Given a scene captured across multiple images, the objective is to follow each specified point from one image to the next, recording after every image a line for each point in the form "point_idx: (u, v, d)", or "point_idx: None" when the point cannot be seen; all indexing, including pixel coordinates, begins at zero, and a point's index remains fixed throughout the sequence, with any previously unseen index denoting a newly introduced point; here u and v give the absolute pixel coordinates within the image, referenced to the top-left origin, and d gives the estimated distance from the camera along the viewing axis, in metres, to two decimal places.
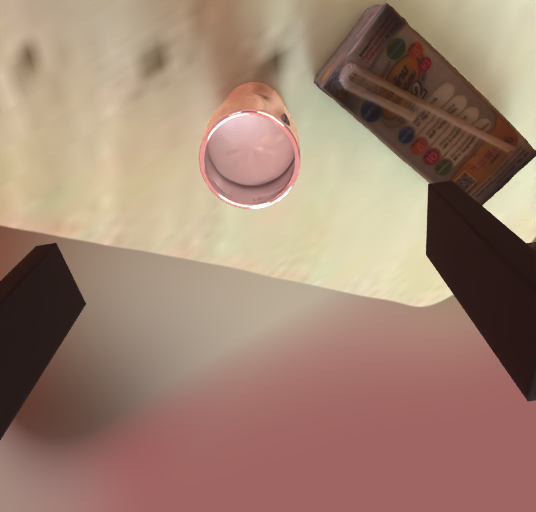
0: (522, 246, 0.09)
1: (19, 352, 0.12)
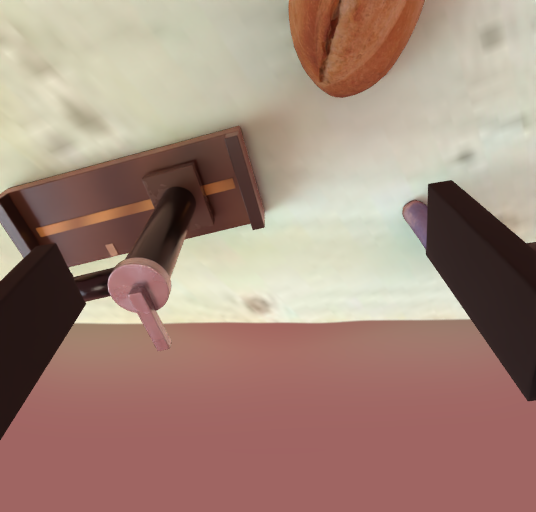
0: (522, 246, 0.09)
1: (19, 353, 0.12)
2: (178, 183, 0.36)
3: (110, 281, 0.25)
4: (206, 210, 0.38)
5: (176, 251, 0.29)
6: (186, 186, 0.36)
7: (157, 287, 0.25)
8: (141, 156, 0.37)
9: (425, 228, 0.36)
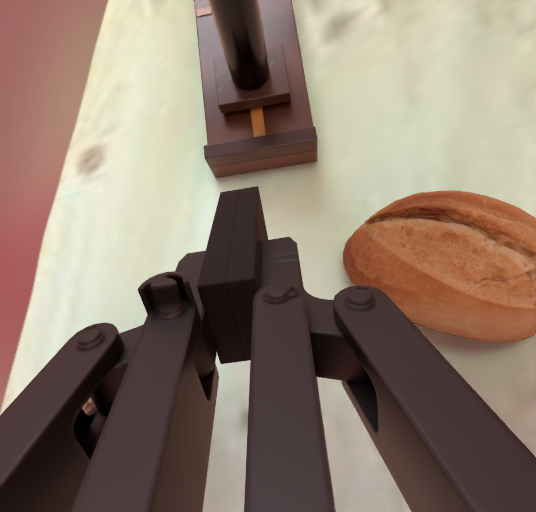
0: (251, 240, 0.12)
1: None
2: (272, 77, 0.33)
3: None
4: (236, 100, 0.33)
5: None
6: (267, 84, 0.33)
7: None
8: (300, 57, 0.36)
9: None
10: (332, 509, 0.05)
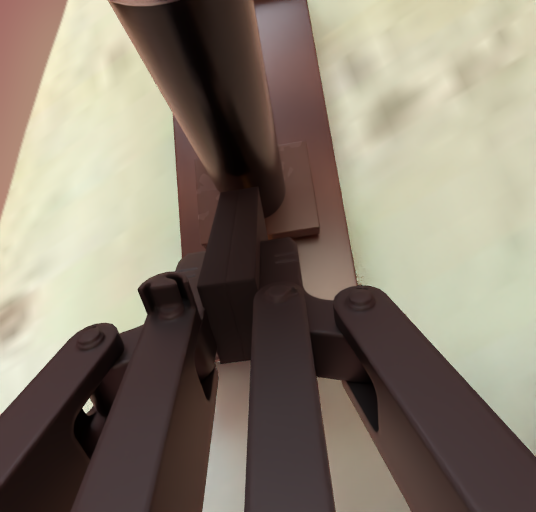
0: (251, 240, 0.12)
1: None
2: (289, 197, 0.20)
3: None
4: None
5: (204, 108, 0.11)
6: (282, 210, 0.20)
7: None
8: (336, 172, 0.22)
9: None
10: (332, 509, 0.05)
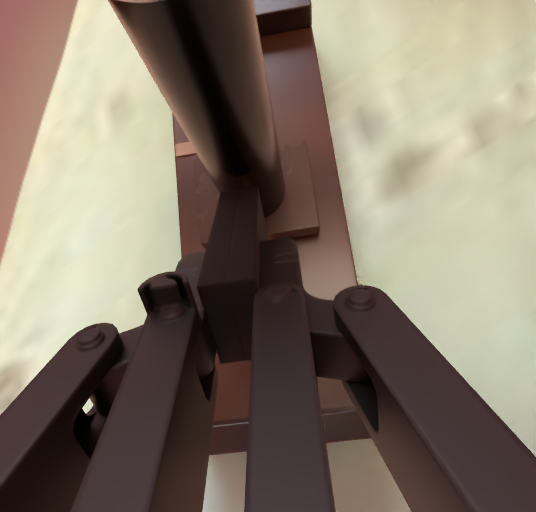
0: (251, 240, 0.12)
1: None
2: (289, 197, 0.20)
3: None
4: None
5: (203, 106, 0.11)
6: (282, 209, 0.20)
7: None
8: None
9: None
10: (332, 509, 0.05)
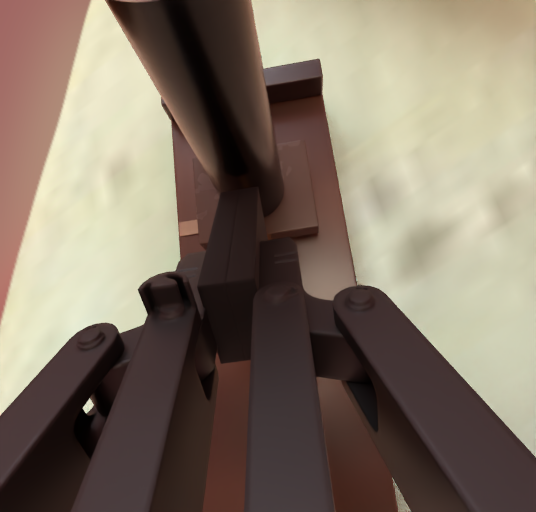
0: (250, 240, 0.12)
1: None
2: (288, 197, 0.20)
3: None
4: None
5: (201, 106, 0.11)
6: (281, 209, 0.20)
7: None
8: None
9: None
10: (332, 509, 0.05)
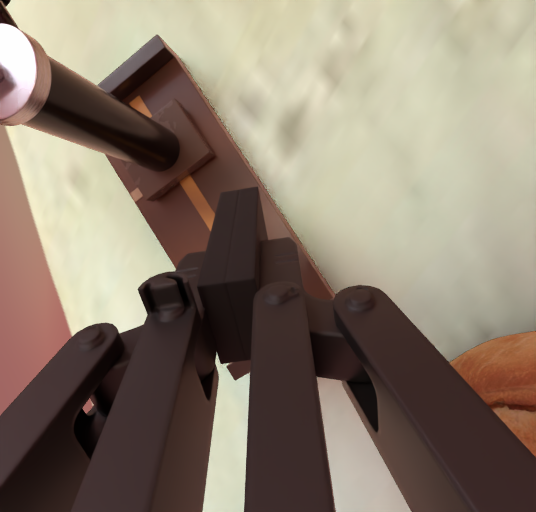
0: (251, 240, 0.12)
1: None
2: (183, 142, 0.29)
3: None
4: (160, 185, 0.30)
5: (84, 135, 0.20)
6: (182, 152, 0.29)
7: (8, 98, 0.16)
8: (272, 204, 0.30)
9: None
10: (332, 509, 0.05)
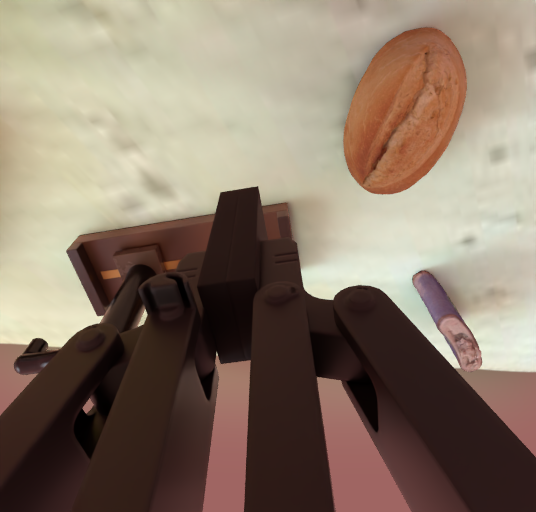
0: (251, 240, 0.12)
1: None
2: (143, 262, 0.44)
3: None
4: None
5: None
6: (149, 264, 0.44)
7: None
8: (202, 222, 0.44)
9: (433, 300, 0.44)
10: (332, 509, 0.05)
